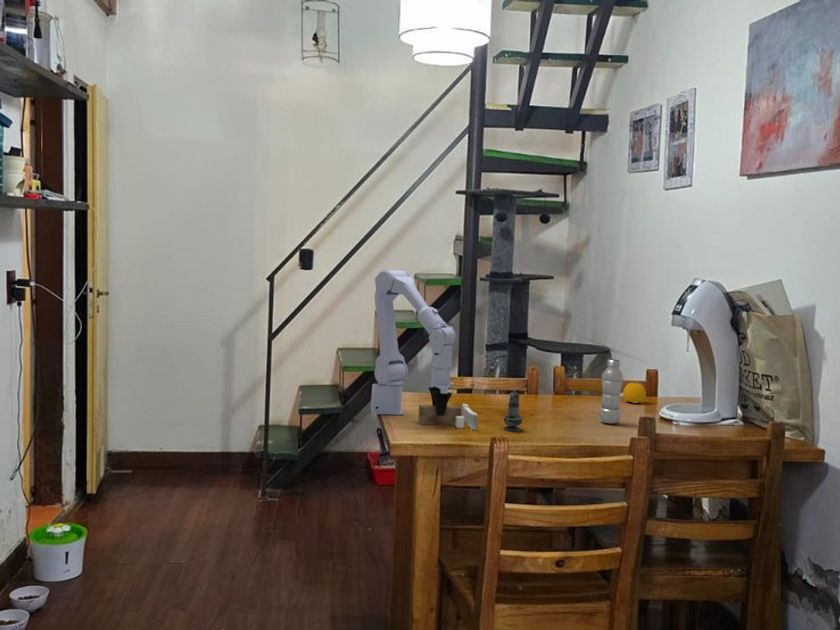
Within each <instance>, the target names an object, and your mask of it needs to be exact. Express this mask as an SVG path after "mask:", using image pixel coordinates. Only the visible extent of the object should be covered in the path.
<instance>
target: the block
mask: <svg viewBox="0 0 840 630" xmlns="http://www.w3.org/2000/svg"><path fill="white" fill-rule="evenodd" d="M456 416H462V407H461V406H459V405H447V407H446V410H445V414H444V416H438V415H437V414H436V406H433V404H432V405H427V404H421V405H419V404H418V419H417V420H418V421H417V422H418V424H419V423H420V424H419V425H423V424H445V425H444V426H455V420H456ZM446 424H447V425H446ZM449 424H450V425H449Z"/></svg>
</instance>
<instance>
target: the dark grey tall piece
mask: <svg viewBox="0 0 840 630" xmlns="http://www.w3.org/2000/svg"><path fill="white" fill-rule="evenodd" d="M507 405H508V410H507V414H506V415H503V416H502V418H503V421H504V424H505V425H506V426H504V427H503V428H502V429H503V430H504V431H505V432H506V431H507V432H512V433H513V432H515V433H516V432H517V433H518V432H521V431H522V429H521V428H520V427H519V426H521V424H522V422H523V420H524V417H523V416H521V415H520V412H519V408H520V406H521V404H520V394H519V393H518V392H517V390H516V389H515V388H514V389H513V391H512V392H510V393H509V401H508V404H507Z"/></svg>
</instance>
